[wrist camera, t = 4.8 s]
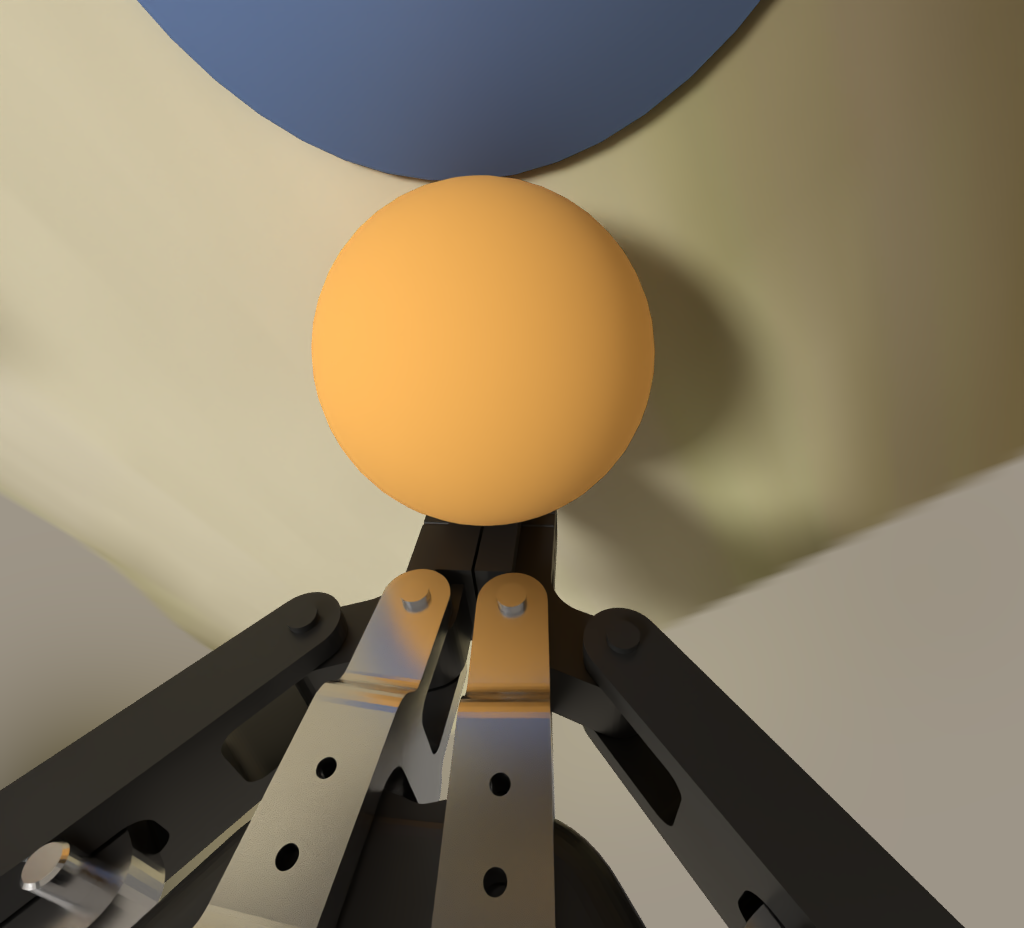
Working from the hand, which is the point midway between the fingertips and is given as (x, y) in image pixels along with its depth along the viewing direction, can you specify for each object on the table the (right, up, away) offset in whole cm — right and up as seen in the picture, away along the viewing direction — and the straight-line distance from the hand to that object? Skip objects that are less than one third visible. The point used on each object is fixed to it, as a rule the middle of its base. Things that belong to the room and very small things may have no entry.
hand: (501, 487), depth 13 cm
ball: (0, +2, -3) cm, 4 cm away
